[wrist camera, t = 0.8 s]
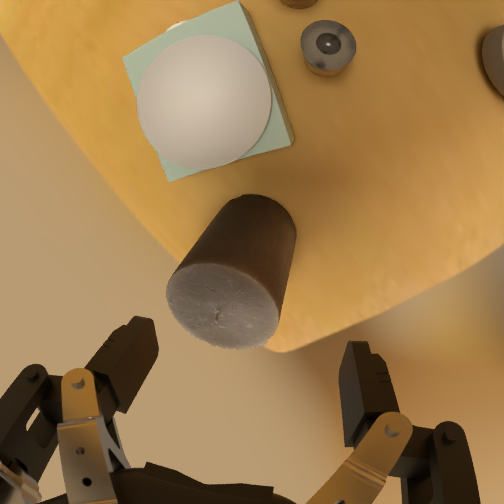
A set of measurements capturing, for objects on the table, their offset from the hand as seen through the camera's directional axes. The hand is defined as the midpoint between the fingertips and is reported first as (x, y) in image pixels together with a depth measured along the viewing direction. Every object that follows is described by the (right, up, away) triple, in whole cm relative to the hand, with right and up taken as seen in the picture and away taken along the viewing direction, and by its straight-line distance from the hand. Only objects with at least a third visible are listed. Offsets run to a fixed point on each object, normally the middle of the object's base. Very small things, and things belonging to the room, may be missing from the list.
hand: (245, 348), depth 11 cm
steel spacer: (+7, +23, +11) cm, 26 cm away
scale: (-4, +20, +15) cm, 26 cm away
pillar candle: (+1, +6, +23) cm, 24 cm away
